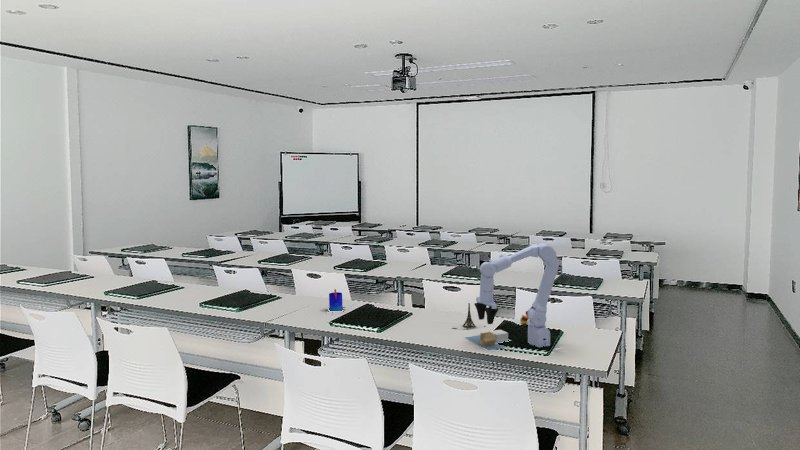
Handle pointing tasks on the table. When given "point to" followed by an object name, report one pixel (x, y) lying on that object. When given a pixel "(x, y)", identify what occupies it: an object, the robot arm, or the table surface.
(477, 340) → the board
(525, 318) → the small brown rounded figure
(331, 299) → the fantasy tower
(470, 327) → the eiffel tower figurine
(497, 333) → the base block
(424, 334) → the table surface
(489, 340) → the wooden cube
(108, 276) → the table surface
